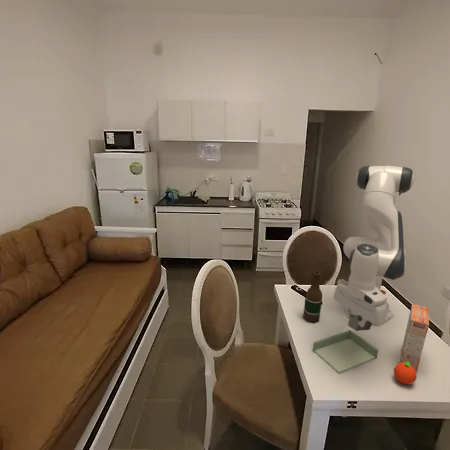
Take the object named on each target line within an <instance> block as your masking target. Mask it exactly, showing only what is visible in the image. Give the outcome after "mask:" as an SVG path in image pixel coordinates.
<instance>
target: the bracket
mask: <svg viewBox="0 0 450 450" xmlns="http://www.w3.org/2000/svg"><path fill="white" fill-rule="evenodd" d="M361 320H363V319H362V317H361V316H360V315H354V316H350V319H349V320H348V321H347V326H348V327H349V328H351V329H353V330H354V331H355V332H360V331H370V329H371V327H372V325H373V324H372V323H371V322H369V321H366V322H365V326H364V327H361V326H359V325H358V324H359V323H358V322H359V321H361Z"/></svg>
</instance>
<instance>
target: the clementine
mask: <svg viewBox="0 0 450 450" xmlns="http://www.w3.org/2000/svg"><path fill="white" fill-rule="evenodd" d="M393 373H394V376H395V378H396V379H397V381H399V382H400V383H401V384H405V385H410V384H411V385H412V384H413V383H414V382H415V381H416V380H417V373H416V371H415V369H414V368H413V367H412V366H411V365H410V362H405V363H403V362H402V363H400V362H399V363H397V364H396V365H395V366H394V368H393Z"/></svg>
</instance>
